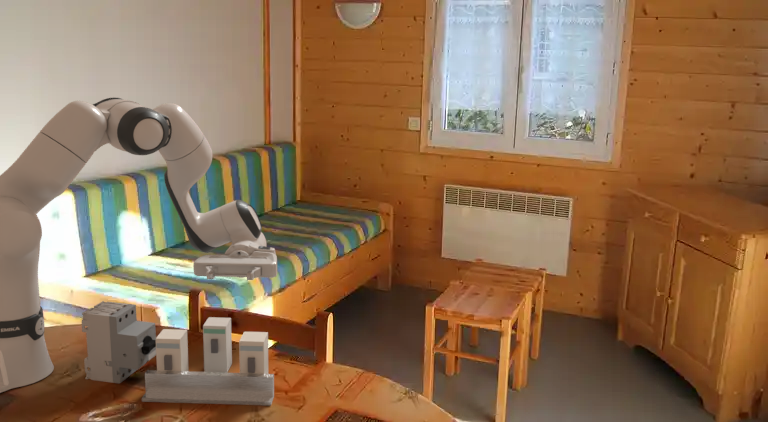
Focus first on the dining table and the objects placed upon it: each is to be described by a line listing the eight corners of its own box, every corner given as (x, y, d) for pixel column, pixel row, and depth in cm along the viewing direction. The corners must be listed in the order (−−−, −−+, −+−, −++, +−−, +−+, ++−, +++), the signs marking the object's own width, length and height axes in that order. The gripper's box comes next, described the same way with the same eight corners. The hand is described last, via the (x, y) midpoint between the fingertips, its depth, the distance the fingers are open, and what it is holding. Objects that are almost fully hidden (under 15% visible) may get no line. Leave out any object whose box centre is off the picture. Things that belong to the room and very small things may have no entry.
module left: (156, 394, 145) (154, 340, 142) (165, 381, 150) (163, 329, 148) (181, 395, 145) (179, 340, 142) (189, 382, 150) (187, 329, 148)
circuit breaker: (146, 387, 148) (143, 319, 145) (85, 379, 151) (80, 312, 147) (164, 371, 155) (161, 307, 152) (105, 364, 158) (101, 301, 155)
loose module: (203, 374, 155) (202, 327, 152) (210, 362, 160) (208, 317, 158) (226, 374, 155) (225, 327, 152) (232, 363, 160) (231, 317, 158)
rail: (141, 401, 142) (140, 378, 141) (148, 392, 146) (147, 370, 144) (270, 405, 142) (270, 382, 141) (274, 396, 146) (273, 374, 144)
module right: (239, 397, 145) (238, 342, 142) (245, 384, 150) (244, 331, 148) (263, 397, 145) (263, 343, 142) (268, 384, 150) (268, 332, 148)
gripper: (200, 246, 179) (185, 262, 165) (281, 248, 179) (272, 264, 165) (201, 270, 180) (186, 288, 167) (281, 271, 180) (272, 290, 166)
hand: (229, 276), depth 166 cm, fingers open, 8 cm apart
